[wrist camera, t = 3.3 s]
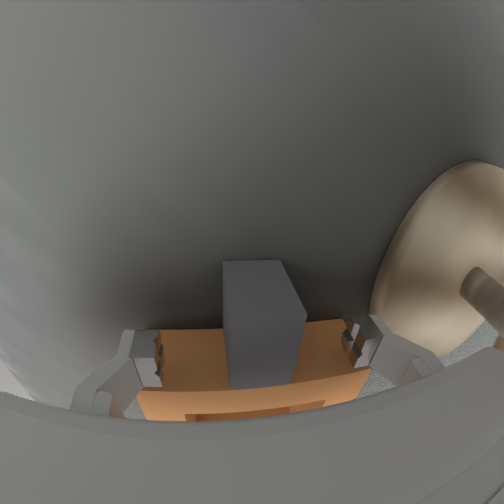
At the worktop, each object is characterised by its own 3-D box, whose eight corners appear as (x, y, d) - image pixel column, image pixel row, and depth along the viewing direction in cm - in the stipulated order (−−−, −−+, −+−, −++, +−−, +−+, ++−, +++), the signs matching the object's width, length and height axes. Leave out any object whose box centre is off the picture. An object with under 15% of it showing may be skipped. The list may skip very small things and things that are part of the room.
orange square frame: (307, 414, 20) (320, 452, 16) (174, 425, 18) (174, 467, 15) (358, 256, 13) (401, 302, 10) (130, 262, 12) (106, 320, 8)
